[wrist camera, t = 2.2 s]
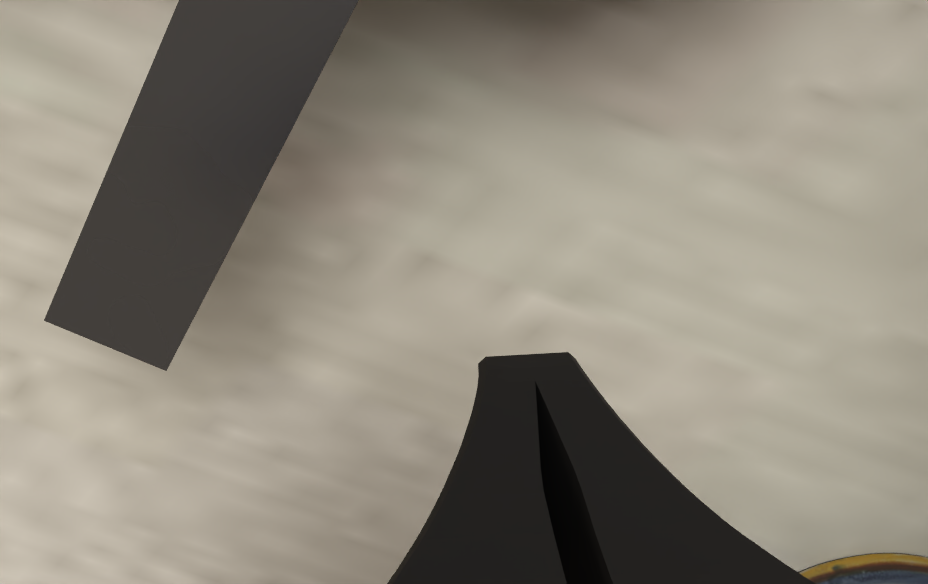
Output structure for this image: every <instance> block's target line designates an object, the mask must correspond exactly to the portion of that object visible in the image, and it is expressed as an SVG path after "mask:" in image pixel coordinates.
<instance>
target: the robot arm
mask: <svg viewBox="0 0 928 584" xmlns="http://www.w3.org/2000/svg"><path fill="white" fill-rule="evenodd" d="M478 369H479V378H478V387H477V393H476V398H475V402H474V406H473V410H472V414H471V417H470V420H469V423H468V426H467V429H466V432H465V435H464V439H463V442H462V445H461V447H460V450H459V453H458V455H457V457H456V460H455V462H454V465H453V467H452V469H451V472H450V474H449V476H448V479H447V481H446V483H445V486H444V488H443V490H442V492H441V494H440V496H439V498H438V500H437V502H436V504H435V506H434V508H433V510H432V512H431V514H430V516H429V518H428V519H427V521H426V523H425V525H424V527H423V528H422V530H421V532H420V534H419V536H418V537H417V539H416V540H415V542H414V544H413V545H412V547H411V548H410V550H409V552H408V553H407V555H406V556H405V558H404V560H403V561H402V563H401V564H400V566H399V567H398V569H397V570H396V572H395V573H394V575H393V576H392V578H391V579H390V581H389V582H388V583H387V584H816V583H814V582H813V581H811V580H809V579H807V578H806V577H804V576H803V575H801V574H800V573H798V572H796V571H795V570H793V569H792V568H790V567H789V566H787V565H785V564H784V563H782V562H781V561H780V560H778V559H777V558H775V557H774V556H772V555H771V554H770V553H768V552H767V551H765V550H764V549H762V548H761V547H760V546H758V545H757V544H755V543H754V542H752V541H751V540H749V539H748V538H747V537H745V536H744V535H742V534H741V533H740V532H738V531H737V530H736V529H734V528H733V527H732V526H731V525H729V524H728V523H727V522H725V521H724V520H723V519H722V518H720V517H719V516H718V515H717V514H716V513H715V512H713V511H712V510H711V509H710V508H709V507H707V506H706V505H705V504H704V503H703V502H701V501H700V500H699V499H698V498H697V497H696V496H695V495H694V494H693V493H691V492H690V491H689V490H688V489H687V488H686V487H685V486H684V485H683V484H682V483H681V482H680V481H679V480H677V479H676V478H675V477H674V476H673V475H672V474H671V473H670V472H669V471H668V470H667V469H666V468H665V467H664V466H663V465H662V464H661V463H660V462H659V461H658V460H657V459H656V458H655V457H654V455H653V454H652V453H651V452H650V451H649V450H648V449H647V448H646V447H645V446H644V445H643V444H642V443H641V442H640V440H639V439H638V438H637V437H636V436H635V435H634V434H633V432H632V431H631V430H630V429H629V428H628V427H627V426H626V424H625V423H624V422H623V421H622V420H621V419H620V418H619V416H618V415H617V414H616V413H615V411H614V410H613V409H612V408H611V407H610V405H609V404H608V403H607V402H606V400H605V399H604V398H603V396H602V395H601V394H600V393H599V391H598V390H597V389H596V387H595V386H594V385H593V383H592V382H591V381H590V379H589V378H588V376H587V375H586V374H585V372H584V371H583V369H582V368H581V366H580V365H579V364H578V362H577V360H576V359H575V358H574V357H573V356H572V355H571V354H570V353H568V352H564V353H546V354H529V355H511V356H493V357H485V358H484V359H483V360H482V361H481V362H480V363H479V364H478Z"/></svg>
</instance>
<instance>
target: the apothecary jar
mask: <svg viewBox="0 0 928 584" xmlns="http://www.w3.org/2000/svg"><path fill="white" fill-rule="evenodd" d="M799 573H800V574H801V575H803V576H804V577H806V578H807V579H809V580H811V581H813V582H814V583H816V584H928V558H927V557H923V556H917V555H909V554H898V553H880V554H868V555H860V556H853V557H848V558H842V559H838V560H834V561H830V562H826V563H823V564H820V565H817V566H814V567H811V568H809V569H806V570H803V571H801V572H799Z"/></svg>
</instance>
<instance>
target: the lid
mask: <svg viewBox="0 0 928 584" xmlns="http://www.w3.org/2000/svg"><path fill="white" fill-rule="evenodd" d="M357 2H358V0H179V2H178V4H177V6H176V9H175V11H174V14H173V16H172V18H171V21H170V23H169V25H168V28H167V30H166V32H165V35H164V37H163V40H162V42H161V44H160V47H159V49H158V51H157V54H156V56H155V59H154V61H153V63H152V66H151V68H150V70H149V73H148V75H147V78H146V80H145V82H144V85H143V87H142V89H141V92H140V94H139V96H138V99H137V101H136V104H135V106H134V108H133V111H132V113H131V115H130V118H129V120H128V123H127V125H126V127H125V130H124V132H123V134H122V137H121V139H120V142H119V144H118V146H117V149H116V151H115V153H114V156H113V158H112V161H111V163H110V165H109V168H108V170H107V172H106V175H105V177H104V179H103V182H102V184H101V187H100V189H99V191H98V194H97V196H96V198H95V201H94V203H93V206H92V208H91V210H90V213H89V215H88V217H87V220H86V222H85V225H84V227H83V229H82V232H81V234H80V236H79V239H78V241H77V243H76V246H75V248H74V251H73V253H72V255H71V258H70V260H69V262H68V265H67V267H66V270H65V272H64V274H63V277H62V279H61V281H60V284H59V286H58V289H57V291H56V293H55V296H54V298H53V300H52V303H51V305H50V308H49V310H48V312H47V315H46V317H45V319H44V321H46V322H49V323H51V324H54V325H56V326H59V327H61V328H63V329H66V330H68V331H71V332H73V333H76V334H78V335H80V336H83V337H85V338H88V339H90V340H93V341H95V342H97V343H100V344H102V345H105V346H107V347H110V348H112V349H114V350H117V351H119V352H122V353H124V354H127V355H129V356H131V357H134V358H136V359H139V360H141V361H144V362H146V363H148V364H151V365H153V366H156V367H158V368H161V369H163V370H165V371H167V369H168V367H169V365H170V363H171V361H172V359H173V357H174V355H175V353H176V351H177V349H178V347H179V346H180V344H181V342H182V340H183V338H184V336H185V334H186V332H187V330H188V328H189V326H190V324H191V322H192V320H193V319H194V317H195V315H196V313H197V311H198V309H199V307H200V305H201V303H202V301H203V299H204V297H205V295H206V293H207V292H208V290H209V288H210V286H211V284H212V282H213V280H214V278H215V276H216V274H217V272H218V270H219V268H220V266H221V265H222V263H223V261H224V259H225V257H226V255H227V253H228V251H229V249H230V247H231V245H232V243H233V241H234V239H235V238H236V236H237V234H238V232H239V230H240V228H241V226H242V224H243V222H244V220H245V218H246V216H247V214H248V212H249V211H250V209H251V207H252V205H253V203H254V201H255V199H256V197H257V195H258V193H259V191H260V189H261V187H262V185H263V184H264V182H265V180H266V178H267V176H268V174H269V172H270V170H271V168H272V166H273V164H274V162H275V160H276V158H277V157H278V155H279V153H280V151H281V149H282V147H283V145H284V143H285V141H286V139H287V137H288V135H289V133H290V131H291V130H292V128H293V126H294V124H295V122H296V120H297V118H298V116H299V114H300V112H301V110H302V108H303V106H304V104H305V103H306V101H307V99H308V97H309V95H310V93H311V91H312V89H313V87H314V85H315V83H316V81H317V79H318V77H319V76H320V74H321V72H322V70H323V68H324V66H325V64H326V62H327V60H328V58H329V56H330V54H331V52H332V51H333V49H334V47H335V45H336V43H337V41H338V39H339V37H340V35H341V33H342V31H343V29H344V27H345V25H346V24H347V22H348V20H349V18H350V16H351V14H352V12H353V10H354V8H355V6H356V4H357Z"/></svg>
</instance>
